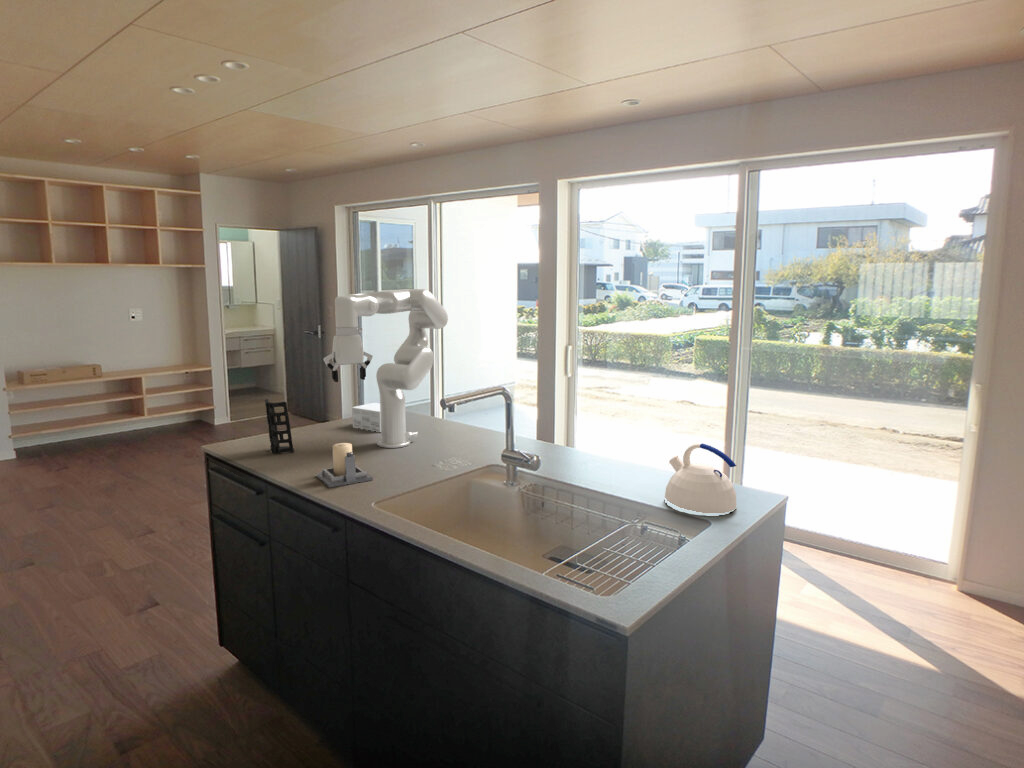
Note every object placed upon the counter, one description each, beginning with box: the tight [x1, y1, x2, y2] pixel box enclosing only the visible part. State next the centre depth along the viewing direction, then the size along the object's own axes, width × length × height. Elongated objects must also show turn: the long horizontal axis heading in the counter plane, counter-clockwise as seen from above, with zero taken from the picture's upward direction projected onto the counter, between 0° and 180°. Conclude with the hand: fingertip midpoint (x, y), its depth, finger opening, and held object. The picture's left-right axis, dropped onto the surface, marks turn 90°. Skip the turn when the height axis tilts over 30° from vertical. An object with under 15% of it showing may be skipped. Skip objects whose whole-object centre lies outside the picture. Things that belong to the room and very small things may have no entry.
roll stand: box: [315, 442, 374, 489], centre depth 206 cm, size 14×15×10 cm
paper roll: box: [332, 442, 353, 477], centre depth 206 cm, size 6×6×10 cm
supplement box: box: [351, 402, 381, 433], centre depth 276 cm, size 17×13×9 cm
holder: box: [264, 398, 295, 455], centre depth 235 cm, size 11×8×20 cm
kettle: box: [664, 443, 737, 513], centre depth 183 cm, size 20×21×18 cm
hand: (349, 380), depth 225 cm, fingers open, 9 cm apart
